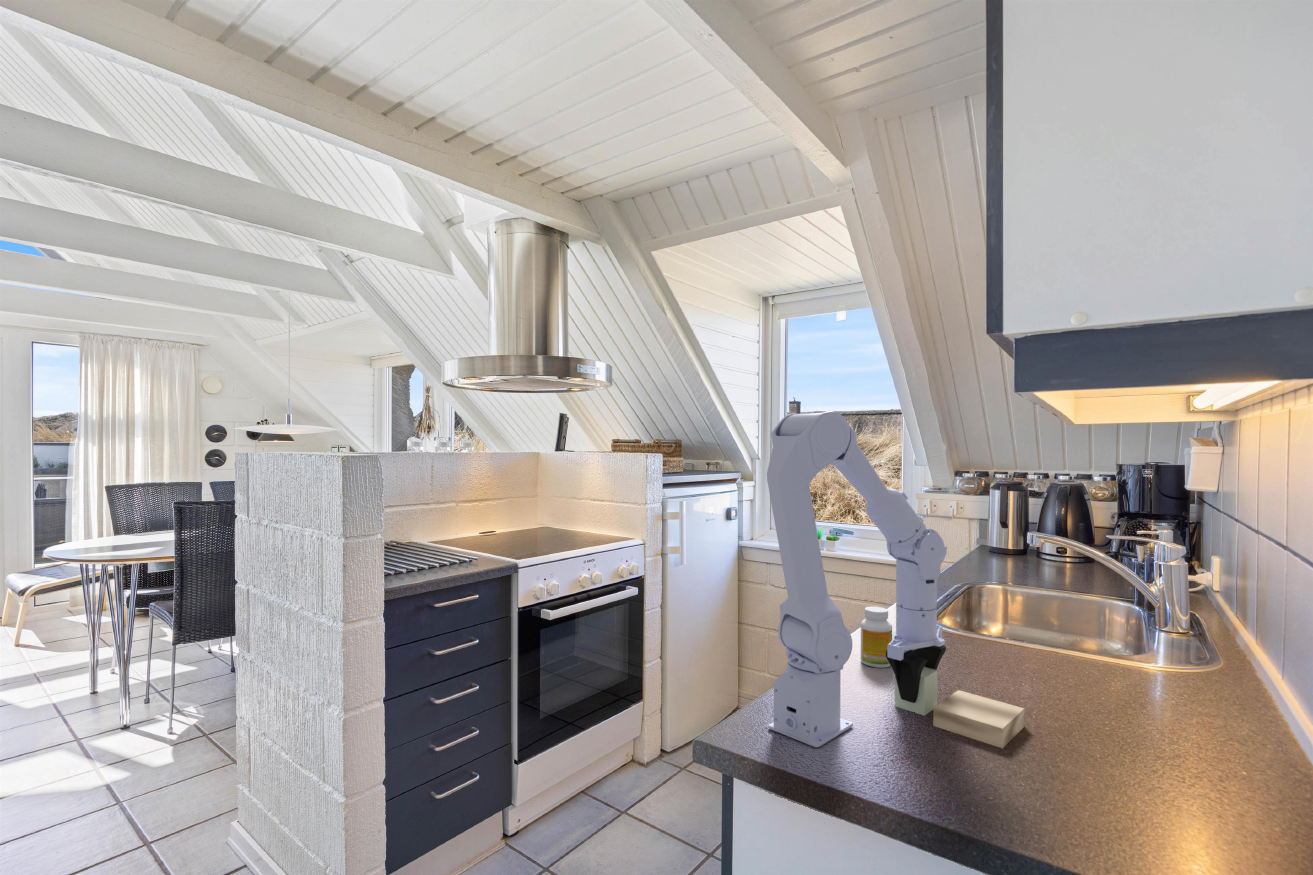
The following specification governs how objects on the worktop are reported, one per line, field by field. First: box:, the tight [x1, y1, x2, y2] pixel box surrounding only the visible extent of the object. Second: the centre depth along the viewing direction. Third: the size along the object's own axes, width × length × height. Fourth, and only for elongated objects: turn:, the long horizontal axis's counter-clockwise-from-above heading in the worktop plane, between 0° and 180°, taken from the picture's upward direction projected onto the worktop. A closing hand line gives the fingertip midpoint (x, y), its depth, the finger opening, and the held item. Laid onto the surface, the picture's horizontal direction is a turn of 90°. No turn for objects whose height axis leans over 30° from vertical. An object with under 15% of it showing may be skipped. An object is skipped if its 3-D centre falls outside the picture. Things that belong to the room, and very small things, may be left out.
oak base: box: [932, 689, 1026, 749], centre depth 90 cm, size 9×9×3 cm
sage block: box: [894, 667, 938, 716], centre depth 96 cm, size 4×4×6 cm
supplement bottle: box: [860, 606, 893, 669], centre depth 115 cm, size 5×5×10 cm
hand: (915, 695), depth 96 cm, fingers closed on sage block, 4 cm apart
